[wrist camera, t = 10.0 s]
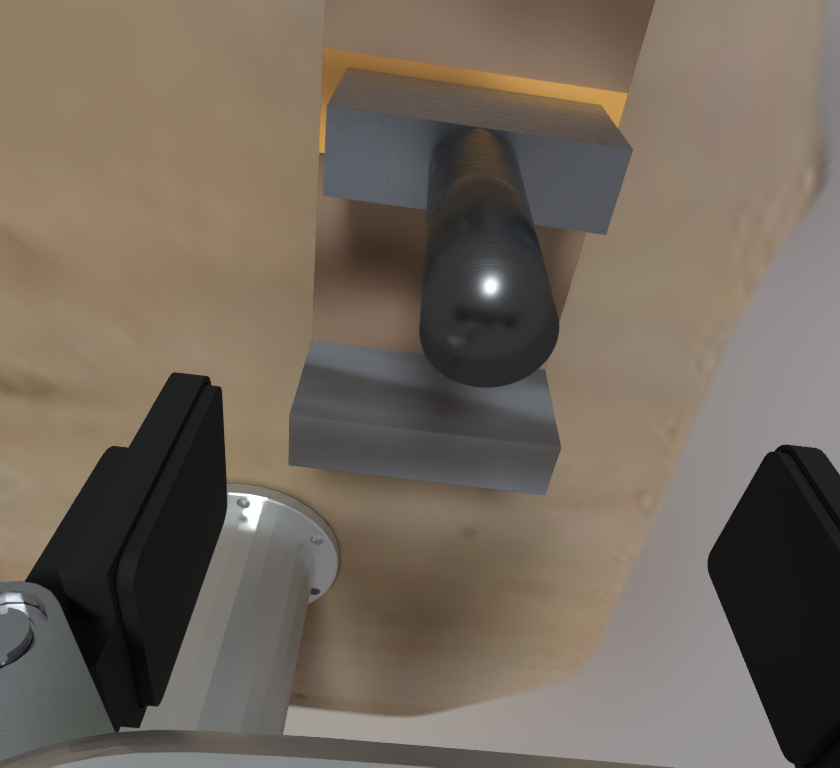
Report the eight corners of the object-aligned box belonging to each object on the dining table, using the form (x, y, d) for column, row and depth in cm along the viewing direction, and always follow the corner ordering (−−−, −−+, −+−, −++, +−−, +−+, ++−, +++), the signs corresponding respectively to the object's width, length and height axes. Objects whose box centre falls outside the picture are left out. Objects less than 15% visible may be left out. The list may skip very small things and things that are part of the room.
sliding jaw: (580, 179, 28) (688, 413, 16) (342, 145, 28) (256, 359, 15) (601, 104, 26) (742, 301, 14) (347, 67, 26) (253, 236, 13)
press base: (527, 391, 38) (544, 495, 31) (315, 365, 37) (288, 465, 31) (703, -221, 22) (807, -265, 16) (345, -283, 22) (303, -356, 15)
